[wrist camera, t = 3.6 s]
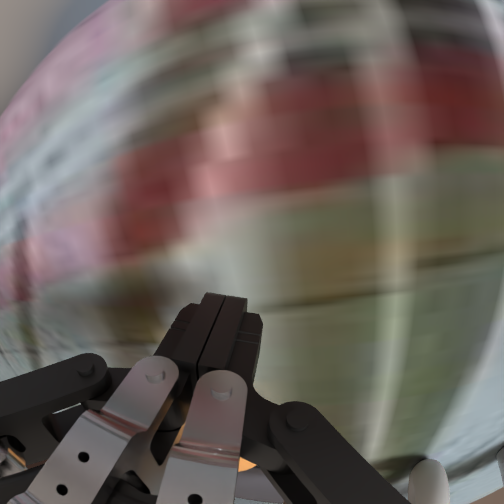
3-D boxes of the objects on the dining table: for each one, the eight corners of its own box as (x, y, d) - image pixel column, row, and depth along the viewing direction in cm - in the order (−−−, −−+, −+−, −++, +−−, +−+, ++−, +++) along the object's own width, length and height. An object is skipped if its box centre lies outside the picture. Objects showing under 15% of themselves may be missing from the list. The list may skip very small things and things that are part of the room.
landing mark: (304, 471, 21) (304, 473, 21) (282, 502, 27) (281, 503, 27) (166, 446, 23) (166, 447, 23) (182, 483, 29) (182, 485, 29)
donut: (410, 450, 18) (419, 539, 9) (443, 439, 17) (459, 525, 8) (403, 480, 22) (407, 546, 13) (430, 472, 21) (437, 537, 12)
